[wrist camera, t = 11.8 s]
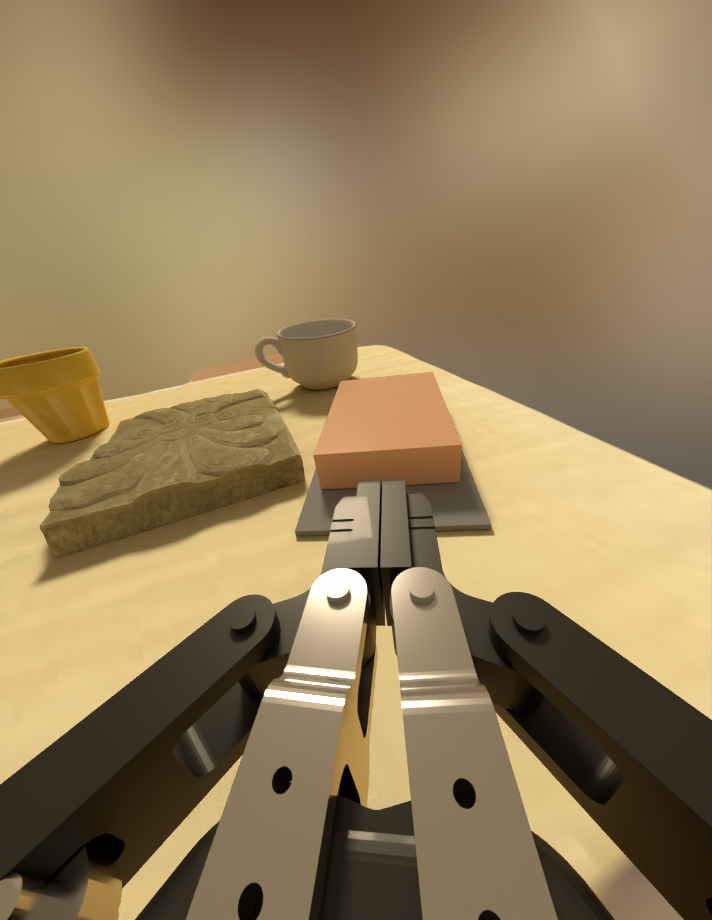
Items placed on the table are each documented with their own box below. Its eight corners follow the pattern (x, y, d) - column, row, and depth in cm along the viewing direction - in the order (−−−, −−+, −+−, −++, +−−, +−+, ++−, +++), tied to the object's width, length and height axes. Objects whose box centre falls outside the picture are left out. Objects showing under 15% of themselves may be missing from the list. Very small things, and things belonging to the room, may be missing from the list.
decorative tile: (271, 408, 43) (264, 382, 42) (310, 484, 27) (301, 446, 25) (114, 447, 39) (98, 420, 37) (45, 570, 22) (10, 531, 20)
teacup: (358, 367, 53) (351, 314, 49) (366, 389, 44) (359, 325, 39) (272, 380, 53) (258, 328, 48) (262, 405, 43) (244, 342, 39)
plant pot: (142, 413, 47) (107, 342, 42) (82, 449, 38) (29, 365, 33) (81, 417, 49) (41, 349, 43) (11, 453, 40) (-51, 373, 35)
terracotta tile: (313, 454, 23) (340, 381, 36) (321, 490, 24) (344, 407, 38) (461, 444, 21) (432, 371, 35) (459, 483, 23) (432, 399, 37)
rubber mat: (296, 535, 21) (294, 531, 21) (337, 408, 39) (336, 405, 39) (490, 529, 20) (490, 524, 19) (440, 399, 37) (440, 396, 37)
